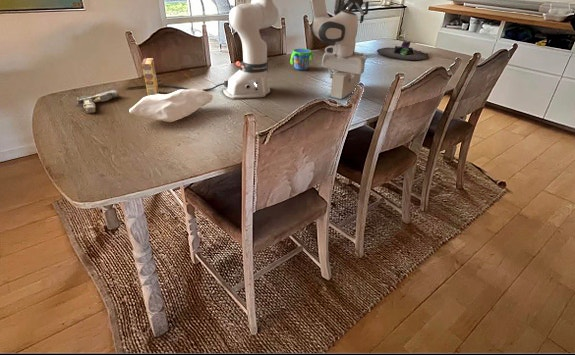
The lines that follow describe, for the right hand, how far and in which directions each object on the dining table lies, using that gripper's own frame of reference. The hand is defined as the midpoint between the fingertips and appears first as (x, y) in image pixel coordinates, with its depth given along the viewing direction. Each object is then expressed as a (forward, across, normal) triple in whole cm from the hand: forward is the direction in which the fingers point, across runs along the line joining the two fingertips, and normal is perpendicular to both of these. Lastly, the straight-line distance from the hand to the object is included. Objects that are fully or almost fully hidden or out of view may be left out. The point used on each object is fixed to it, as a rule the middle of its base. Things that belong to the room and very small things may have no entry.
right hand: (352, 22), depth 191 cm
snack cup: (+27, +26, +2) cm, 38 cm away
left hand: (+20, -3, +37) cm, 42 cm away
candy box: (+27, +77, +72) cm, 108 cm away
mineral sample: (+27, -28, -62) cm, 73 cm away
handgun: (+27, +90, +89) cm, 130 cm away
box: (+27, -5, +30) cm, 41 cm away
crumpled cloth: (+27, +57, +87) cm, 107 cm away
